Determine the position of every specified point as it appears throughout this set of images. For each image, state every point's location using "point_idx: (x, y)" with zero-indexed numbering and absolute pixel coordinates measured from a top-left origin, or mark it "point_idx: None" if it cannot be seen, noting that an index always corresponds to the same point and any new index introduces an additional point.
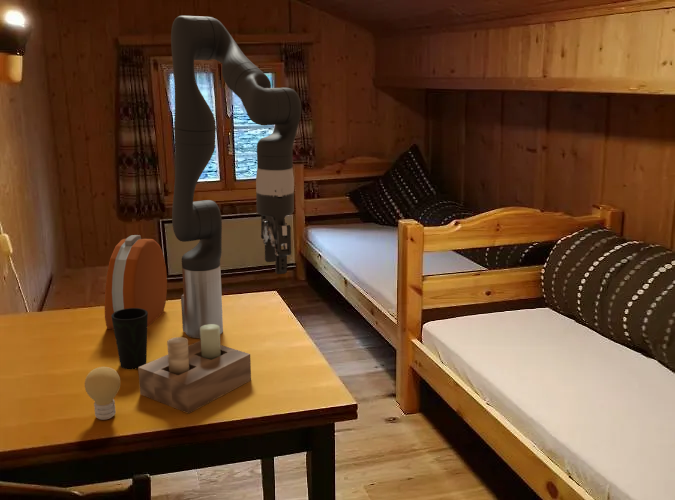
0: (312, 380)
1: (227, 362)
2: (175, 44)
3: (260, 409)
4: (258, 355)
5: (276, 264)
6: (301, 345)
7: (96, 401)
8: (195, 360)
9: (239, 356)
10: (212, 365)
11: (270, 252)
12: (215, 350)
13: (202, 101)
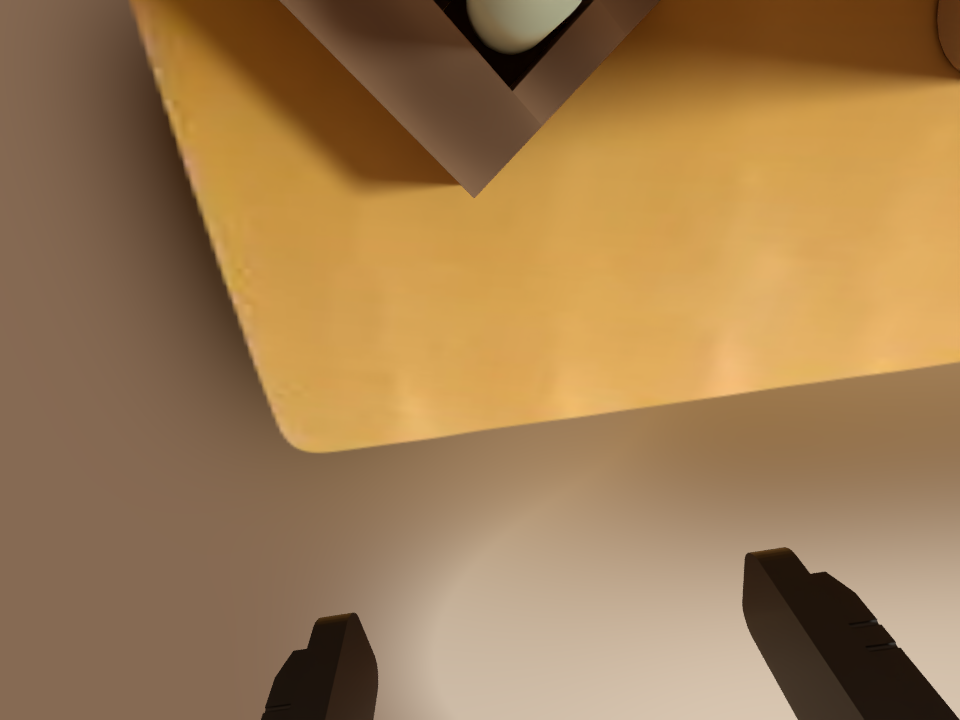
0: (440, 379)
1: (393, 85)
2: None
3: (243, 205)
4: (678, 223)
5: (290, 715)
6: (714, 373)
7: None
8: None
9: (453, 147)
10: (362, 3)
11: (806, 682)
12: (473, 17)
13: None
